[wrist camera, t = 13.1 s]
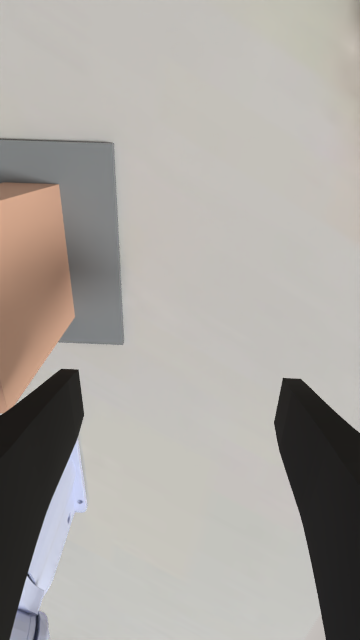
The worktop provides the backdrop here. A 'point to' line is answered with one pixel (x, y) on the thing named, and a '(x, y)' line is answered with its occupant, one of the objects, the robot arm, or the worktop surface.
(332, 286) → the worktop surface
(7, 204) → the tall wooden block
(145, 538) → the worktop surface
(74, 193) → the mat
